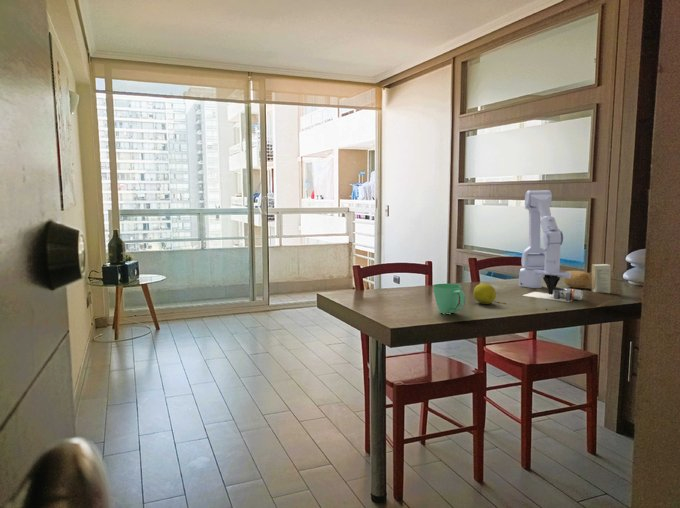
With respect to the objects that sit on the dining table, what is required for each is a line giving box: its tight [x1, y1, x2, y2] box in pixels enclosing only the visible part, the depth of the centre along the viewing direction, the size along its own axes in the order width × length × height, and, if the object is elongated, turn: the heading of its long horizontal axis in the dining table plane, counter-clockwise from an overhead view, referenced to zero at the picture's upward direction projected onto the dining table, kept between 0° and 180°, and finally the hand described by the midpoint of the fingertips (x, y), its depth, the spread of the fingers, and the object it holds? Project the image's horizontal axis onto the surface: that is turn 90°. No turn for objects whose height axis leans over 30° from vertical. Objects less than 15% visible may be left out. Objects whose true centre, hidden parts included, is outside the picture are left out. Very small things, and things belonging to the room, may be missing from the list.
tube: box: [553, 286, 584, 301], centre depth 198 cm, size 10×4×4 cm, turn 42°
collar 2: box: [565, 292, 572, 302], centre depth 197 cm, size 1×8×3 cm, turn 133°
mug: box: [432, 283, 466, 314], centre depth 178 cm, size 15×10×10 cm
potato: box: [562, 270, 592, 290], centre depth 223 cm, size 10×14×8 cm
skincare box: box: [591, 263, 612, 294], centre depth 211 cm, size 6×4×12 cm
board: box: [522, 291, 574, 303], centre depth 203 cm, size 19×11×1 cm, turn 43°
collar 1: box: [554, 291, 560, 299], centre depth 200 cm, size 1×8×3 cm, turn 133°
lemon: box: [473, 282, 497, 305], centre depth 196 cm, size 11×8×8 cm
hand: (551, 294), depth 203 cm, fingers closed
